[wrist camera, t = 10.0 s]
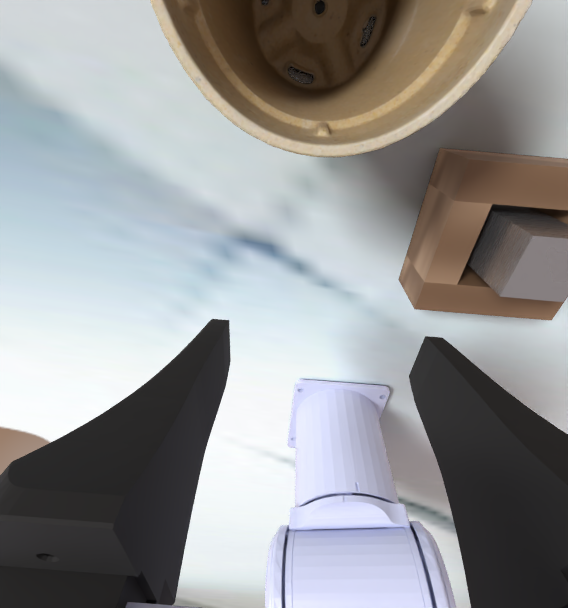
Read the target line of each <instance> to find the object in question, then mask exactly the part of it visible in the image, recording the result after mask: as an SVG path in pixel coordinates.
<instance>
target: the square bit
mask: <svg viewBox="0 0 568 608" xmlns="http://www.w3.org/2000/svg"><path fill="white" fill-rule="evenodd" d="M467 264H468V265H469V266H470V267H471V268H472V269H473V270H474V271H475V272H476V273H477V274H478V275H479V276H480V277H481V278H482V279H483V280H484V281H485V282H486V283H487V284H488V285H489V286H490V287H491V288H492V289H493V290H494V291H495V292H496V293H497V294H498V295H499V296H500V297H511V298H522V299H533V300H544V301H555V302H564V300H565V299H566V298H567V296H568V224H566V223H564V222H562V221H560V220H557V219H555V218H553V217H551V216H549V215H547V214H545V213H543V212H541V211H539V210H537V209H535V208H532V207H522V206H510V205H498V204H492V206H491V208H490V211H489V213H488V215H487V218H486V220H485V222H484V224H483V227H482V229H481V231H480V234H479V236H478V238H477V240H476V243H475V245H474V247H473V250H472V252H471V254H470V256H469V259H468V261H467Z"/></svg>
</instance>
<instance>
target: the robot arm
mask: <svg viewBox="0 0 568 608" xmlns="http://www.w3.org/2000/svg"><path fill="white" fill-rule="evenodd" d="M229 366H230V335H229V320H218V319H212V320H211V321H209V322H208V324H207V325H206V326H205V327H204V328H203V329H202V330H201V332H200V333H199V334H198V335H197V336H196V337H195V338H194V339H193V340H192V341H191V342H190V343H189V344H188V345H187V346H186V347H185V348H184V349H183V350H182V351H181V352H180V353H179V354H178V355H177V356H176V357H175V358H174V359H173V360H172V361H171V362H170V363H169V364H168V365H167V366H165V367H164V368H163V369H162V370H161V371H160V372H159V373H158V374H156V375H155V376H154V377H153V378H152V379H150V380H149V381H148V382H147V383H145V384H144V385H143V386H141V387H140V388H139V389H138V390H136V391H135V392H134V393H132V394H131V395H129V396H128V397H127V398H125V399H124V400H122V401H121V402H119V403H118V404H116V405H115V406H113V407H112V408H110V409H109V410H107V411H106V412H104V413H103V414H101V415H100V416H98V417H96V418H94V419H93V420H91V421H89V422H88V423H86V424H84V425H83V426H81V427H79V428H77V429H76V430H74V431H72V432H70V433H68V434H67V435H65V436H63V437H61V438H59V439H57V440H55V441H53V442H51V443H49V444H47V445H45V446H43V447H41V448H39V449H37V450H35V451H33V452H31V453H29V454H27V455H26V456H23V457H21V458H19V459H17V460H15V461H13V462H12V463H11V464H10V465H9V466H8V467H7V468H6V469H5V471H4V472H3V473H2V474H1V475H0V608H200V607H187V606H174V605H173V604H174V602H175V598H176V592H177V587H178V581H179V576H180V570H181V565H182V559H183V554H184V549H185V544H186V539H187V533H188V528H189V523H190V518H191V513H192V508H193V504H194V499H195V494H196V489H197V485H198V480H199V475H200V471H201V466H202V462H203V457H204V453H205V450H206V446H207V442H208V439H209V436H210V433H211V430H212V427H213V424H214V421H215V418H216V414H217V411H218V408H219V405H220V402H221V399H222V396H223V393H224V389H225V386H226V381H227V377H228V371H229ZM409 378H410V383H411V388H412V392H413V396H414V400H415V403H416V406H417V409H418V412H419V414H420V417H421V420H422V422H423V425H424V428H425V430H426V433H427V435H428V438H429V441H430V443H431V446H432V448H433V451H434V454H435V456H436V459H437V462H438V465H439V468H440V471H441V474H442V477H443V481H444V485H445V488H446V492H447V496H448V499H449V503H450V507H451V511H452V516H453V520H454V524H455V528H456V532H457V537H458V541H459V546H460V551H461V555H462V560H463V565H464V570H465V575H466V581H467V586H468V592H469V597H470V603H471V608H568V434H566V433H565V432H563V431H561V430H560V429H558V428H557V427H555V426H554V425H552V424H551V423H550V422H548V421H547V420H545V419H544V418H542V417H541V416H539V415H538V414H536V413H535V412H534V411H532V410H531V409H529V408H528V407H527V406H525V405H524V404H523V403H521V402H520V401H519V400H517V399H516V398H515V397H513V396H512V395H511V394H510V393H508V392H507V391H506V390H504V389H503V388H502V387H501V386H499V385H498V384H497V383H496V382H494V381H493V380H492V379H491V378H490V377H488V376H487V375H486V374H485V373H484V372H482V371H481V370H480V369H479V368H478V367H477V366H475V365H474V364H473V363H472V362H471V361H470V360H468V359H467V358H466V357H465V356H464V355H463V354H461V353H460V352H459V351H458V350H457V349H456V348H454V347H453V346H452V345H451V344H449V343H448V342H447V341H446V340H444V339H443V338H438V337H426V336H425V339H424V341H423V343H422V346H421V348H420V351H419V353H418V355H417V358H416V360H415V363H414V365H413V367H412V370H411V372H410V375H409ZM300 388H301V389H300ZM389 394H390V390H389V388H388V387H387V386H379V385H367V384H354V383H342V382H330V381H317V380H305V379H299V380H297V381H296V383H295V389H294V397H293V404H292V412H291V420H290V427H289V435H288V446H289V447H291V448H296V481H295V508H290V514H289V525H282V526H280V527H279V529H278V531H277V533H276V534H275V535H274V537H273V538H272V540H271V543H270V547H269V553H268V560H267V570H266V588H265V608H456V604H455V600H454V596H453V592H452V588H451V584H450V581H449V577H448V574H447V571H446V568H445V564H444V561H443V559H442V556H441V553H440V551H439V548H438V546H437V543H436V541H435V539H434V538H433V536H432V535H431V533H430V532H429V531H427V530H426V529H425V528H424V527H423V525H422V524H421V523H420V522H419V521H409V519H408V515H407V511H406V507H405V505H404V504H399V501H398V497H397V493H396V489H395V485H394V481H393V476H392V472H391V468H390V464H389V460H388V456H387V452H386V448H385V444H384V440H383V436H382V431H381V427H380V423H379V420H380V417H381V415H382V412H383V410H384V407H385V404H386V402H387V399H388V397H389Z"/></svg>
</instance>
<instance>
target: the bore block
mask: <svg viewBox="0 0 568 608" xmlns="http://www.w3.org/2000/svg"><path fill="white" fill-rule="evenodd" d="M492 204H498V205H510V206H522V207H532V208H535V209H537V210H539V211H541V212H543V213H545V214H547V215H549V216H551V217H553V218H555V219H557V220H560V221H562V222H564V223H566V224H568V159H562V158H551V157H539V156H527V155H515V154H504V153H492V152H480V151H468V150H457V149H445V148H440V149H439V153H438V156H437V159H436V162H435V165H434V168H433V172H432V175H431V178H430V181H429V184H428V188H427V191H426V194H425V197H424V200H423V203H422V207H421V210H420V213H419V216H418V219H417V223H416V226H415V229H414V232H413V235H412V239H411V242H410V245H409V248H408V251H407V254H406V258H405V261H404V264H403V267H402V270H401V274H400V277H399V281H400V283H401V285H402V287H403V289H404V290H405V292H406V294H407V296H408V298H409V300H410V302H411V303H412V305H413V307H414V309H420V310H432V311H444V312H456V313H468V314H481V315H493V316H505V317H517V318H529V319H541V320H552V319H553V317H554V316H555V314H556V313H557V311H558V310H559V309H560V307H561V306H562V304H563V303H564V302H555V301H544V300H533V299H522V298H511V297H500V296H499V295H498V294H497V293H496V292H495V291H494V290H493V289H492V288H491V287H490V286H489V285H488V284H487V283H486V282H485V281H484V280H483V279H482V278H481V277H480V276H479V275H478V274H477V273H476V272H475V271H474V270H473V269H472V268H471V267H470V266H469V265H468V264H467V261H468V259H469V256H470V254H471V252H472V250H473V247H474V245H475V243H476V240H477V238H478V236H479V234H480V231H481V229H482V227H483V224H484V222H485V220H486V218H487V215H488V213H489V211H490V208H491V206H492ZM567 297H568V296H567ZM565 300H566V299H565ZM565 300H564V301H565Z"/></svg>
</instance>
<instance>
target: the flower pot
mask: <svg viewBox="0 0 568 608" xmlns="http://www.w3.org/2000/svg"><path fill="white" fill-rule="evenodd" d="M150 1H151V4H152V7H153V9H154V11H155V13H156V16H157V18H158V21H159V23H160V26H161V29H162V31H163V33H164V35H165V37H166V38H167V40H168V42H169V45H170V47H171V48H172V50H173V51H174V53H175V55H176V57H177V58H178V60H179V61H180V63H181V64H182V66H183V68H184V70H185V71H186V73H187V74H188V76H189V77H190V78H191V80H192V81H193V82H194V83H195V85H196V86H197V87H198V89H199V90H200V91H201V93H202V94H203V95H204V97H205V98H206V99H207V100H208V101H210V103H211V104H212V105H213V106H214V107H216V108H217V109H218V110H219V111H220V112H221V113H222V114H223V115H224V116H225V117H226V118H227V119H229V120H230V121H231V122H232V123H233V124H235V125H236V126H237V127H239V128H240V129H241V130H243V131H245V132H246V133H248V134H249V135H251V136H253V137H255V138H257V139H259V140H261V141H263V142H265V143H267V144H269V145H271V146H273V147H277V148H280V149H283V150H285V151H289V152H293V153H296V154H302V155H308V156H313V157H345V156H352V155H359V154H363V153H367V152H370V151H375V150H379V149H382V148H384V147H386V146H388V145H391V144H393V143H396V142H398V141H400V140H402V139H404V138H406V137H408V136H410V135H412V134H413V133H415V132H417V131H419V130H420V129H422V128H423V127H425V126H427V125H428V124H430V123H431V122H433V121H434V120H435V119H437V118H439V117H440V116H441V115H442V114H443V113H444V112H446V111H447V110H448V109H449V108H450V107H451V106H453V105H454V104H455V103H456V102H457V101H458V100H459V99H460V98H461V97H462V96H464V95H465V94H466V93H467V92H468V90H469V89H470V88H471V87H472V86H473V85H474V84H475V83H476V82H477V81H478V80H479V79H480V77H481V76H482V75H483V74H484V73H485V72H486V70H487V69H488V68H489V67H490V65H491V64H492V63H493V61H494V60H495V59H496V58H497V56H498V55H499V53H500V52H501V50H502V49H503V48H504V46H505V45H506V44H507V43H508V41H509V40H510V39H511V37H512V36H513V34H514V32H515V30H516V28H517V27H518V25H519V23H520V21H521V20H522V19H523V17H524V15H525V13H526V12H527V10H528V9H529V7H530V6H531V3H532V0H321V1H323V2H324V5H325V9H324V11H323V12H322V13H321V14H317V13H316V11H315V4H316V3H317V2H318V1H320V0H268V3H267V4H266V5H264V4H262V0H150ZM371 17H375V18H376V20H375V23H374V27H373V30H372V32H371V35H370V38H369V40H368V42H367V43H366V44H365V45H364V46H360V43H361V41H362V38H363V35H364V32H363V28H364V29H365V28H366V26H367V24H368V22H369V19H370V18H371ZM290 67H293V68H296V69H297V70H300V71H303V72H305V73H308V74H312V75H313V82H312V83H306V84H304V83H300V82H299V81H295V80H294V79H292V77H291V76H290V75H289V73H288V69H289V68H290Z"/></svg>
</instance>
